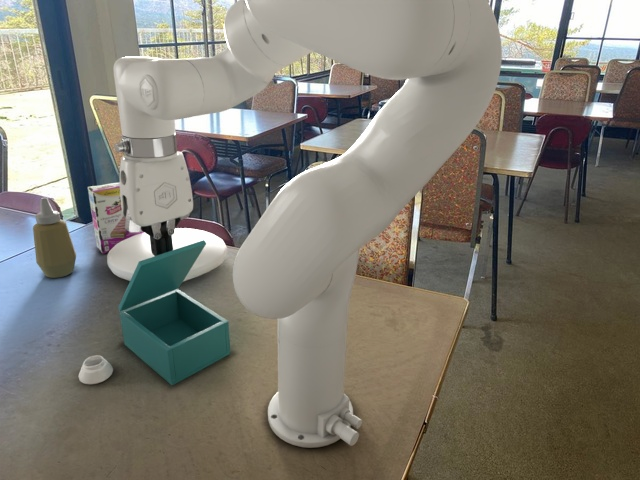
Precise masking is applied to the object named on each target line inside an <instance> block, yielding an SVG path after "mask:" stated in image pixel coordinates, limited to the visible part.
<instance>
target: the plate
mask: <svg viewBox="0 0 640 480" xmlns="http://www.w3.org/2000/svg"><path fill="white" fill-rule="evenodd" d="M203 240H204V241H205V242H206V245H205V247H204V248H203V250H202V251H201V253H200V255H199V256H198V258H197V260H196V261H195V263H194V264H193V266H192V268H191V269H190V271H189V272H188V274H187V276H186V277H185V279H184V281H183V282H182V283H184V282H187V281H189V280H193V279H194V278H197V277H200V276H202V275H205V274H207V273H209V272H211V271H213V270H215V269H216V268H218V267H219V266H221V265H222V264H223V263H224V262H225V260H226V258H227V255H228V247H227V244H226V243H225V241H224V240H223V239H222V238H221V237H219V236H218V235H215V234H214V233H212V232H208V231H205V230H201V229H197V228H196V229H195V228H187V227H184V228H182V227H180V228H179V227H177V228H175V233H174V234H173V235H172V243H173V250H175V249H178V248H181V247H184V246H187V245H191V244H194V243H197V242H200V241H203ZM106 255H107V256H106V261H107V263H106V264H107V266H108V268H109V270H110V271H111V272H112V274H113V275H114V276H117V277H118V278H120V279H123V280H126V281H129V282H130V280H131V278H132V276H133V274H134V271H135V269H136V267H137V265H138V263H139V261H142V260H145V259H148V258H151V257H154V255H153V254H152V251H151V243H150V236H149V235H148V234H146V233H141V234H137V235H134V236H132V237H130V238H127V239H125V240H123V241H121V242H119V243H118V244H116V245H115V246H114V247H113V248H112V249H111V250H110V251H109V252H108V253H107V254H106Z"/></svg>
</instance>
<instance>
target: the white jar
mask: <svg viewBox="0 0 640 480" xmlns="http://www.w3.org/2000/svg"><path fill="white" fill-rule="evenodd" d="M113 372H114V368H113V365H112V364H111V363H110V362H109V361H108V360H107V359H105V358H104V356H102V355H97V354H95V355H91V356H89V357H87V358H86V359H84V361H83V362H82V365H81V368H80V370H79V373H78V379H79V382H81V383H82V384H85V385H97V384H99V383H102V382H104V381H106V380H107V379H109V378H110V377H111V376H112V375H113Z"/></svg>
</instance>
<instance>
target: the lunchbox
mask: <svg viewBox="0 0 640 480" xmlns="http://www.w3.org/2000/svg"><path fill="white" fill-rule="evenodd" d="M119 318H120V324H121V331H122V337H123V342H124V345H125V346H126V347H127V348H128V350H130V351H132V352H133V353H134V354H135V355H136V356H137V357H138V358H139V359H141V360H142V361H143V362H144V363H145V364H146V365H147V366H149V367H150V368H151V369H152V370H153V371H155V373H156V374H157V375H159V376H160V377H161V378H163V379H164V380H165V381H166V382H167V383H168V384H169V385H170V386H174V385H176V384H177V383H180V382H182V381H184V380H185V379H187V378H189V377H191V376H192V375H193V376H194V374H196V373H198V372H200V371H202V370H203V369H206V368H207V367H209V366H211V365H212V364H214V363H215V364H216V362H218V361H220V360H222V359H224V358H226V357H227V356H229V355H231V342H230V339H231V338H230V324H229V323H230V322H229V320H227V319H226V318H224V317H223V316H222V315H219V314H218V313H216V312H215V311H214V310H211V309H210V308H209V307H207V306H205V304H202V303H200V302H199V301H197V300H196V299H194V298H193V297H191V296H190V295H188V294H187V293H185V292H183V291H181V290H180V289H179V288H178V289H176V290H173V291H171V292H168V293H166V294H163V295H161V296H158V297H156V298H153V299H151V300H148V301H146V302H143V303H141V304H138V305H135V306H133V307H130V308H128V309H125V310H123V311H119Z"/></svg>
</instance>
